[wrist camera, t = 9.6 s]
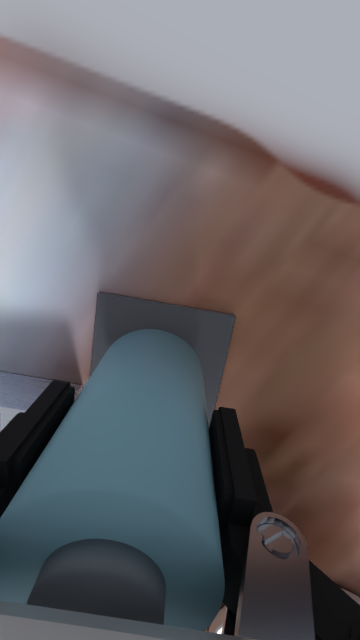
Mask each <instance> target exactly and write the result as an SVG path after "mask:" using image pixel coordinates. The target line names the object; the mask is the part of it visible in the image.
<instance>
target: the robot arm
mask: <svg viewBox="0 0 360 640" xmlns="http://www.w3.org/2000/svg"><path fill="white" fill-rule="evenodd" d="M74 396H75V388H74V387H71V385H70V382H65V381H59V380H53V381H52V382H51V383H50V384H49V385H48V386H47V388H46V389H45V390H44V391H43V392H42V393H41V394H40V396H39V397H38V398H37V399H36V400H35V401H34V402H33V404H32V405H31V406H30V407H29V408H28V409H27V410H26V412H25V413H24V412H20V413H18V414H17V415H15V416H14V418H13V419H12V420H11V421H10V422H9V423H8V424H7V425H6V426H5V427H4V429H3V430H2V431H1V432H0V518H1V516H2V515H3V513H4V511H5V510H6V508H7V507H8V505H9V504H10V502H11V500H12V499H13V497H14V496H15V494H16V493H17V491H18V489H19V488H20V486H21V485H22V483H23V482H24V480H25V478H26V477H27V475H28V474H29V472H30V471H31V469H32V468H33V466H34V464H35V463H36V461H37V460H38V458H39V457H40V455H41V453H42V452H43V450H44V449H45V447H46V446H47V444H48V442H49V441H50V439H51V438H52V436H53V435H54V433H55V431H56V430H57V428H58V427H59V425H60V424H61V422H62V420H63V419H64V417H65V416H66V414H67V413H68V411H69V409H70V408H71V406H72V405H73V403H74ZM209 435H210V444H211V454H212V464H213V473H214V483H215V492H216V502H217V512H218V521H219V531H220V541H221V550H222V560H223V569H224V579H225V591H224V597H223V603H224V604H225V606H224V607H223V608H222V609H221V610H220V611H219V612H218V614H217V616H216V617H215V619H214V620H213V622H212V623H211V625H210V628H209V631H208V632H206V631H199V630H193V629H186V628H180V627H174V626H167V625H161V624H154V623H148V622H141V621H135V620H128V619H121V618H115V617H108V616H101V615H95V614H88V613H81V612H75V611H68V610H61V609H54V608H47V607H41V606H34V605H27V604H20V603H13V602H6V601H0V640H360V597H358V596H357V595H355V594H353V593H351V592H349V591H347V590H345V589H343V588H340V587H339V586H338V585H337V584H335V583H334V582H333V581H332V580H331V579H330V578H329V577H327V576H326V575H325V574H324V573H323V572H322V571H321V570H320V569H318V568H317V567H316V566H315V565H314V564H313V563H312V562H311V561H309V558H308V548H307V544H306V540H305V538H304V536H303V534H302V533H301V531H300V530H299V529H298V528H297V526H296V525H295V524H294V523H292V522H291V521H290V520H289V519H287V518H285V517H284V516H282V515H280V514H277V513H273V511H272V508H271V504H270V501H269V497H268V494H267V490H266V487H265V483H264V480H263V476H262V473H261V469H260V466H259V462H258V459H257V455H256V453H255V451H254V450H253V449H248V448H244V444H243V439H242V435H241V431H240V427H239V423H238V419H237V415H236V411H235V409H231V408H225V407H219V410H213V414H212V418H211V422H210V427H209Z"/></svg>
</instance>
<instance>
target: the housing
mask: <svg viewBox="0 0 360 640" xmlns="http://www.w3.org/2000/svg"><path fill="white" fill-rule="evenodd" d="M52 381H53V380H48V379H42V378H36V377H30V376H24V375H18V374H12V373H6V372H0V432H1V431H2V430H3V429H4V427H5V426H6V425H7V424H8V423H9V422H10V421H11V420H12V419H13V418H14V416H15V415H17V414H18V413H20V412H24V413H25V412H26V410H27V409H28V408H29V407H30V406H31V405H32V404H33V402H34V401H35V400H36V399H37V398H38V397H39V396H40V394H41V393H42V392H43V391H44V390H45V389H46V388H47V386H48V385H49V384H50V383H51V382H52ZM70 385H71V387H74V388H75V396H74V402H75V400H76V398H77V397H78V395H79V394H80V392H81V391H82V385H78V384H72V383H70Z"/></svg>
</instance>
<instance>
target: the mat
mask: <svg viewBox="0 0 360 640" xmlns="http://www.w3.org/2000/svg"><path fill="white" fill-rule="evenodd" d="M235 318H236V316H235V315H233V314H227V313H222V312H216V311H210V310H204V309H198V308H192V307H186V306H180V305H175V304H169V303H163V302H157V301H151V300H145V299H139V298H133V297H128V296H122V295H116V294H110V293H104V292H99V293H98V294H97V305H96V317H95V328H94V339H93V350H92V361H91V372H90V377H91V375H92V373H93V372H94V370H95V369H96V367H97V366H98V364H99V362H100V361H101V359H102V358H103V356H104V355H105V353H106V351H107V350H108V349H109V347H110V346H111V345H112V344H113V343H114V342H115V341H116V340H118V339H119V338H120V337H122V336H124V335H126V334H128V333H130V332H133V331H137V330H142V329H157V330H162V331H167V332H169V333H172V334H174V335H176V336H178V337H180V338H181V339H183V340H184V341H185V342H186V343H188V344H189V345H190V346H191V347H192V349H193V350H194V351H195V353H196V354H197V356H198V358H199V360H200V362H201V365H202V370H203V377H204V387H205V396H206V406H207V416H208V425H209V427H210V422H211V418H212V414H213V410H215V405H216V401H217V397H218V392H219V388H220V384H221V379H222V375H223V370H224V366H225V362H226V357H227V353H228V349H229V344H230V340H231V336H232V331H233V327H234V323H235Z"/></svg>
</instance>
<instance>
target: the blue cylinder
mask: <svg viewBox="0 0 360 640" xmlns="http://www.w3.org/2000/svg"><path fill="white" fill-rule="evenodd" d="M224 591H225V579H224V569H223V560H222V550H221V541H220V531H219V521H218V512H217V502H216V492H215V483H214V473H213V464H212V454H211V444H210V435H209V425H208V416H207V406H206V396H205V387H204V377H203V370H202V365H201V362H200V360H199V358H198V356H197V354H196V353H195V351H194V350H193V349H192V347H191V346H190V345H189V344H188V343H186V342H185V341H184V340H183V339H181V338H180V337H178V336H176V335H174V334H172V333H169V332H167V331H162V330H157V329H142V330H137V331H133V332H130V333H128V334H126V335H124V336H122V337H120V338H119V339H118V340H116V341H115V342H114V343H113V344H112V345H111V346H110V347H109V349H108V350H107V351H106V353H105V355H104V356H103V358H102V359H101V361H100V362H99V364H98V366H97V367H96V369H95V370H94V372H93V373H92V375H91V377H90V378H89V380H88V381H87V383H86V384H85V386H84V387H83V389H82V391H81V392H80V394H79V395H78V397H77V398H76V400H75V402H74V403H73V405H72V406H71V408H70V409H69V411H68V413H67V414H66V416H65V417H64V419H63V420H62V422H61V424H60V425H59V427H58V428H57V430H56V431H55V433H54V435H53V436H52V438H51V439H50V441H49V442H48V444H47V446H46V447H45V449H44V450H43V452H42V453H41V455H40V457H39V458H38V460H37V461H36V463H35V464H34V466H33V468H32V469H31V471H30V472H29V474H28V475H27V477H26V478H25V480H24V482H23V483H22V485H21V486H20V488H19V489H18V491H17V493H16V494H15V496H14V497H13V499H12V500H11V502H10V504H9V505H8V507H7V508H6V510H5V511H4V513H3V515H2V516H1V518H0V601H6V602H13V603H20V604H27V605H34V606H41V607H47V608H54V609H61V610H68V611H75V612H81V613H88V614H95V615H101V616H108V617H115V618H121V619H128V620H135V621H141V622H148V623H154V624H161V625H167V626H174V627H180V628H186V629H193V630H199V631H205V630H206V629H207V628H208V627H209V626H210V624H211V623H212V622H213V620H214V619H215V617H216V616H217V614H218V612H219V610H220V607H221V605H222V602H223V597H224Z"/></svg>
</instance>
